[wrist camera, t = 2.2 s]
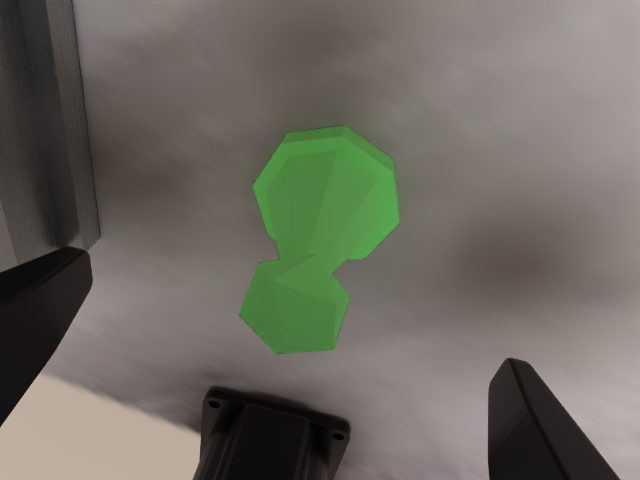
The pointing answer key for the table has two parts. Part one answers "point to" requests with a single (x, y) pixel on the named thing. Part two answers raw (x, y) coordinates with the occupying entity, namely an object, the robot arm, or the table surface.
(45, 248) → the track
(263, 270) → the game piece
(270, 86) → the table surface
